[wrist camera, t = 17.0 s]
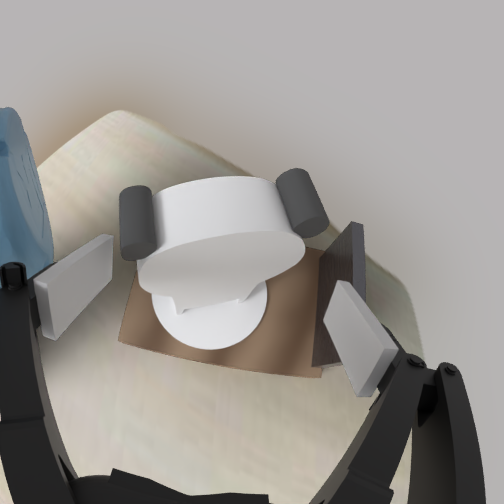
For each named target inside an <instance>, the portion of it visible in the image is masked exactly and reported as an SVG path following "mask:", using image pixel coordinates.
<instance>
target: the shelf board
mask: <svg viewBox="0 0 504 504" xmlns="http://www.w3.org/2000/svg"><path fill="white" fill-rule="evenodd" d="M324 252H325V251H322V250H317V249H313V248H308V247H305V254H304V256H303V257H302V259H301V260H300V261H299V262H298V263H297V264H296V265H294V266H293V267H291V268H289V269H288V270H286V271H284V272H282V273H281V274H279V275H276V276H274V277H272V278H270V279H268V280H265V282H266V288H267V302H266V308H265V311H264V314H263V316H262V318H261V320H260V322H259V324H258V325H257V327H256V328H255V329H254V330H253V331H252V332H251V333H250V334H249V335H248V336H247V337H246V338H245V339H243V340H242V341H240V342H238V343H236V344H234V345H232V346H229V347H226V348H222V349H214V350H206V349H199V348H195V347H191V346H188V345H186V344H184V343H182V342H180V341H179V340H177V339H176V338H174V337H173V336H172V335H171V334H170V333H169V332H168V331H167V330H166V329H165V328H164V327H163V325H162V324H161V323H160V321H159V319H158V317H157V315H156V313H155V310H154V307H153V303H152V293H149V292H147V291H145V290H144V289H143V288H142V287H141V286H140V284H139V279H138V270H137V271H136V274H135V277H134V281H133V284H132V288H131V291H130V295H129V298H128V302H127V306H126V309H125V313H124V317H123V321H122V325H121V329H120V333H119V337H118V341H120V342H122V343H125V344H128V345H132V346H135V347H139V348H142V349H146V350H150V351H154V352H158V353H162V354H166V355H170V356H174V357H179V358H183V359H188V360H192V361H197V362H202V363H207V364H212V365H218V366H223V367H229V368H235V369H241V370H248V371H255V372H262V373H270V374H278V375H287V376H296V377H307V378H321V374H322V368H316V367H311V363H312V353H313V343H314V332H315V321H316V308H317V293H318V276H319V258H320V257H321V256H322V254H323V253H324Z"/></svg>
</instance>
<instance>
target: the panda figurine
mask: <svg viewBox="0 0 504 504" xmlns="http://www.w3.org/2000/svg"><path fill="white" fill-rule="evenodd" d="M119 219H120V247H121V256H122V258H123V259H125V260H128V261H135V260H137V270H138V279H139V284H140V286H141V287H142V288H143V289H144V290H145V291H147V292H149V293H152V303H153V307H154V310H155V313H156V315H157V317H158V319H159V321H160V323H161V324H162V325H163V327H164V328H165V329H166V330H167V331H168V332H169V333H170V334H171V335H172V336H173V337H174V338H176V339H177V340H179V341H180V342H182V343H184V344H186V345H188V346H191V347H195V348H199V349H206V350H214V349H222V348H226V347H229V346H232V345H234V344H236V343H238V342H240V341H242V340H243V339H245V338H246V337H247V336H248V335H249V334H250V333H251V332H252V331H253V330H254V329H255V328H256V327H257V325H258V324H259V322H260V320H261V318H262V316H263V314H264V311H265V308H266V302H267V288H266V282H265V280H268V279H270V278H272V277H274V276H276V275H279V274H281V273H282V272H284V271H286V270H288V269H289V268H291V267H293V266H294V265H296V264H297V263H298V262H299V261H300V260H301V259H302V257H303V256H304V254H305V245H304V242H303V239H302V238H310V237H313V236H316V235H318V234H320V233H321V232H323V231H324V230H326V229H327V227H328V225H329V219H328V217H327V214H326V212H325V210H324V207H323V205H322V203H321V201H320V198H319V196H318V194H317V191H316V189H315V187H314V185H313V183H312V180H311V179H310V176H309V174H308V172H307V171H305V170H303V169H298V168H295V169H291V170H288V171H286V172H284V173H283V174H281V175H280V176H279V177H278V178H277V180H276V184H274V183H273V182H271V181H269V180H266V179H263V178H258V177H248V176H224V177H213V178H206V179H200V180H195V181H190V182H186V183H181V184H178V185H174V186H171V187H169V188H166V189H164V190H162V191H160V192H158V193H156V194H154V195H153V196H152V192H151V190H150V189H149V188H148V187H146V186H132V187H128V188H126V189H124V190H123V191H122V192H121V193H120V196H119Z"/></svg>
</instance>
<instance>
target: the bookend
mask: <svg viewBox="0 0 504 504" xmlns="http://www.w3.org/2000/svg"><path fill="white" fill-rule="evenodd" d="M337 280H341V281H346V282H349V283H350V284H351V285H352V286H353V288H354V289H355V290H356V292H357V293H358V294H359V296H360V297H361V298H362V300H363V301H364V302H365V303H366V279H365V250H364V231H363V224H359V223H356V222H352V221H351V223H350V224H349V225H348V226H347V227H346V228H345V229H344V231H343V232H342V233H341V234H340V235H339V236H338V238H337V239H336V240H335V241H334V242H333V243H332V244H331V245H330V247H329V248H328V249H327V250H326V251H325V252H324V253H323V254H322V256H321V257H320V258H319V276H318V293H317V308H316V321H315V332H314V343H313V353H312V363H311V367H316V368H326V367H333V366H339V365H343V364H342V361H341V359H340V357H339V354H338V352H337V350H336V348H335V345H334V343H333V341H332V338H331V336H330V334H329V332H328V329H327V327H326V325H325V323H324V321H323V319H324V316H325V314H326V311H327V308H328V306H329V303H330V300H331V297H332V295H333V292H334V289H335V286H336V283H337Z"/></svg>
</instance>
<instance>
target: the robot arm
mask: <svg viewBox="0 0 504 504" xmlns="http://www.w3.org/2000/svg"><path fill="white" fill-rule="evenodd" d="M113 239H114V236H112V235H108V234H103V233H102V234H101V235H99V236H97V237H96V238H94V239H93V240H91V241H89V242H88V243H86V244H85V245H83V246H82V247H80V248H78V249H77V250H75V251H74V252H72V253H71V254H69V255H68V256H66V257H65V258H63V259H62V260H60V261H59V262H55V263H53V259H54V247H53V238H52V232H51V226H50V221H49V217H48V212H47V208H46V204H45V200H44V195H43V191H42V188H41V184H40V180H39V176H38V172H37V169H36V165H35V161H34V158H33V154H32V150H31V147H30V144H29V141H28V138H27V135H26V133H25V132H24V129H23V125H22V122H21V119H20V117H19V115H18V113H17V112H16V111H15V110H14V109H13V108H10V107H7V108H0V414H1V421H0V456H1V460H2V465H3V469H4V473H5V477H6V480H7V484H8V487H9V490H10V494H11V497H12V500H13V503H14V504H272V503H269V498H268V494H243V493H222V494H211V495H196V496H190V495H185V494H183V493H180V492H178V491H175V490H173V489H171V488H168V487H166V486H164V485H162V484H159V483H157V482H155V481H153V480H151V479H148V478H144V477H141V476H137V475H134V474H130V473H127V472H124V471H120V470H117V469H114V468H113V469H112V472H111V476H107V475H93V476H85V477H80V478H78V476H77V474H76V472H75V470H74V468H73V466H72V464H71V462H70V460H69V457H68V455H67V452H66V449H65V447H64V444H63V441H62V438H61V435H60V433H59V429H58V426H57V423H56V420H55V417H54V413H53V410H52V406H51V403H50V399H49V395H48V391H47V387H46V382H45V378H44V373H43V368H42V363H41V357H40V351H39V345H38V338H37V332H36V329H37V328H38V327H39V326H40V325H41V330H42V334H43V336H45V337H47V338H49V339H52V340H54V341H56V340H57V339H58V338H59V337H60V336H61V334H62V333H63V332H64V331H65V330H66V329H67V328H68V326H69V325H70V324H71V323H72V322H73V321H74V320H75V318H76V317H77V316H78V315H79V314H80V313H81V312H82V311H83V310H84V308H85V307H86V306H87V305H88V304H89V303H90V302H91V301H92V300H93V299H94V298H95V297H96V295H97V294H98V293H99V292H100V291H101V290H102V289H103V288H104V287H105V286H106V285H107V284H108V283H109V282H110V281H111V280H112V261H113ZM323 321H324V323H325V325H326V327H327V329H328V332H329V334H330V336H331V338H332V341H333V343H334V345H335V348H336V350H337V352H338V354H339V357H340V359H341V361H342V364H343V366H344V368H345V371H346V373H347V375H348V378H349V380H350V382H351V385H352V387H353V389H354V392H355V394H356V397H371V396H372V394H373V393H374V391H375V389H376V388H378V390H379V392H380V394H379V395H378V397H377V398H376V400H375V401H374V403H373V404H372V406H371V407H370V409H369V410H370V412H369V414H368V415H367V417H366V419H365V421H364V423H363V424H362V426H361V428H360V430H359V431H358V433H357V435H356V436H355V438H354V440H353V441H352V443H351V445H350V446H349V448H348V450H347V451H346V453H345V454H344V456H343V457H342V459H341V460H340V462H339V463H338V465H337V466H336V468H335V469H334V471H333V472H332V474H331V475H330V476H329V478H328V479H327V481H326V482H325V483H324V485H323V486H322V487H321V489H320V490H319V491H318V493H317V494H316V495H315V497H314V498H313V499H312V500H311V502H310V503H309V504H390V502H391V500H392V497H393V494H394V492H393V490H392V489H389V487H390V484H391V482H392V479H393V477H394V475H395V472H396V470H397V467H398V465H399V462H400V460H401V457H402V454H403V452H404V449H405V446H406V443H407V440H408V437H409V434H410V431H411V428H412V456H411V473H410V485H409V494H408V502H407V504H486V497H485V484H484V475H483V467H482V460H481V454H480V448H479V442H478V437H477V432H476V428H475V423H474V419H473V415H472V411H471V407H470V403H469V399H468V396H467V392H466V389H465V385H464V382H463V379H462V375H461V373H460V371H459V370H458V369H457V367H456V366H454V365H453V364H450V363H446V362H443V363H441V364H440V365H439V366H438V368H437V370H433V369H428V368H427V366H426V364H425V362H424V361H423V360H422V359H421V358H419V357H418V356H416V355H413V354H407V353H406V352H405V351H404V349H403V348H402V346H401V345H400V344H399V342H398V341H397V340H396V338H395V337H394V336H393V334H392V333H391V331H390V330H389V329H388V328H387V327H385V326H384V325H383V324H380V322H379V321H378V320H377V318H376V317H375V315H374V314H373V313H372V311H371V310H370V309H369V307H368V306H367V305H366V303H365V302H364V301H363V300H362V298H361V297H360V296H359V294H358V293H357V292H356V290H355V289H354V288H353V286H352V285H351V284H350V283H349V282H346V281H341V280H337V283H336V286H335V289H334V292H333V295H332V297H331V300H330V303H329V306H328V308H327V311H326V314H325V316H324V319H323Z"/></svg>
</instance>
